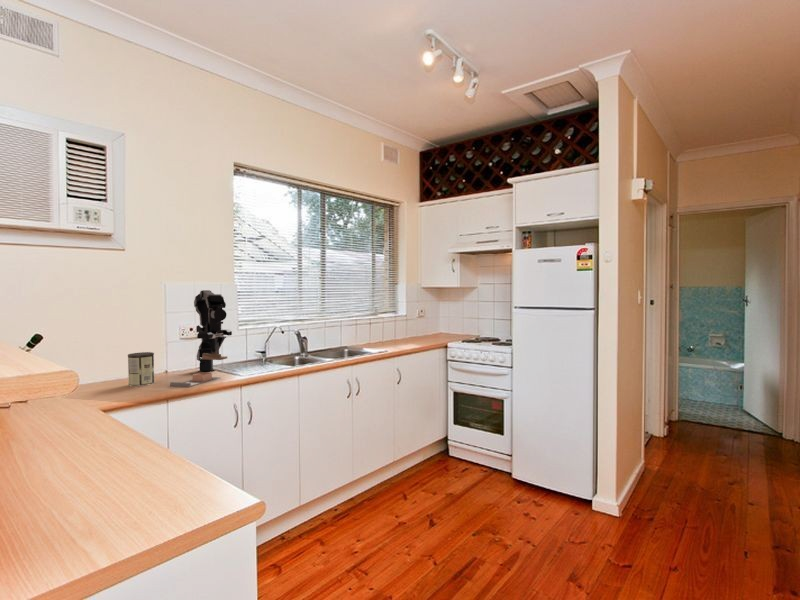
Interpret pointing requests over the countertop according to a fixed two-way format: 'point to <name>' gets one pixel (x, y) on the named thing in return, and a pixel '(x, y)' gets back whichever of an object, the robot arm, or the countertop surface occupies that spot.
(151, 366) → the coffee can
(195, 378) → the tile
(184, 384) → the gray ledged slab
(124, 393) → the countertop surface
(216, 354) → the beige ledged slab
